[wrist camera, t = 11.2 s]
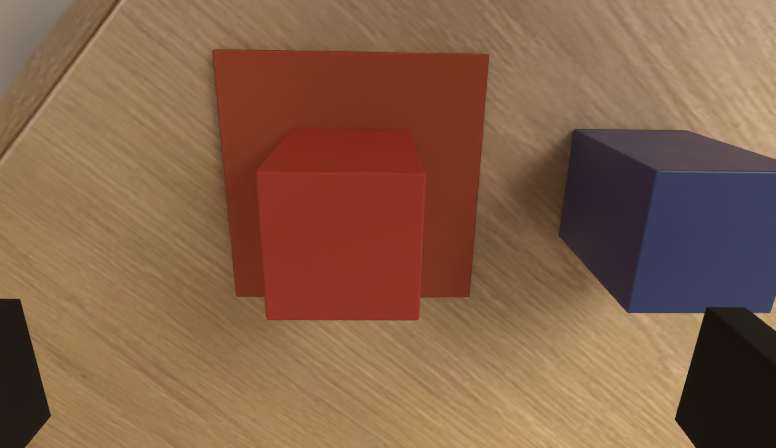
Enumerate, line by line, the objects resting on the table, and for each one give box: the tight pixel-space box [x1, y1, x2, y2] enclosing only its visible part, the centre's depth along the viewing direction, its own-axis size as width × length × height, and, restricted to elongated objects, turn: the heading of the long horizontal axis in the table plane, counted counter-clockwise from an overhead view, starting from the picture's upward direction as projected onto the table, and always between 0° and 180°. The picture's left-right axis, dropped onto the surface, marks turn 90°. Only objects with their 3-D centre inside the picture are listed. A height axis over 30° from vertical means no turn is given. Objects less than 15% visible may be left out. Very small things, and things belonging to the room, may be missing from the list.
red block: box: [256, 129, 426, 320], centre depth 19 cm, size 5×5×7 cm
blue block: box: [559, 129, 776, 313], centre depth 20 cm, size 5×5×7 cm
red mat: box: [213, 49, 489, 297], centre depth 23 cm, size 11×11×1 cm
